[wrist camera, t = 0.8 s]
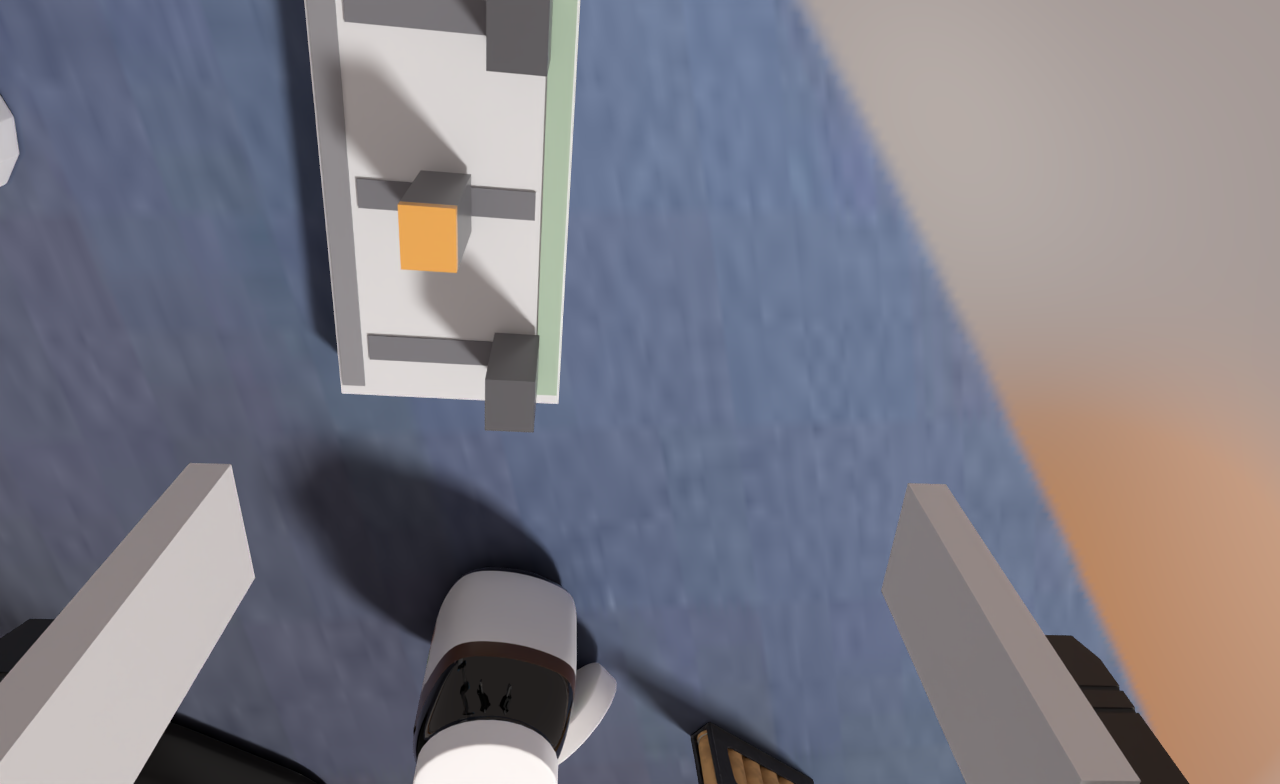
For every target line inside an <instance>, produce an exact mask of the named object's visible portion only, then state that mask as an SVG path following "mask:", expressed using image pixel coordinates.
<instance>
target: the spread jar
mask: <svg viewBox="0 0 1280 784" xmlns="http://www.w3.org/2000/svg"><path fill="white" fill-rule="evenodd" d="M576 665H577V619H576V608H575V604H574V600H573V598H572V596H571V595H570V594H569V593H568V592H567V590H566V589H564V588H563V587H562V586H560V585H559V584H557V583H555V582H553V581H551V580H549V579H547V578H545V577H543V576H540V575H538V574H535V573H532V572H529V571H525V570H520V569H514V568H505V567H488V568H481V569H476V570H472V571H470V572H468V573H465V574H464V575H463V576H461V577H460V578H459V579H458V580H457V581H456V582H455V583H454V584H453V586H452V587H451V588H450V590H449V591H448V593H447V595H446V597H445V599H444V601H443V603H442V606H441V608H440V611H439V614H438V617H437V621H436V625H435V629H434V633H433V637H432V642H431V646H430V651H429V657H428V662H427V667H426V672H425V677H424V681H423V686H422V691H421V695H420V700H419V705H418V710H417V715H416V720H415V725H414V738H413V753H414V758H415V762H416V764H417V765H416V770H415V775H414V780H413V784H558V764H560V763H561V762H563V761H564V760H565V759H567V758H568V757H569V756H570V755H571V754H572V753H574V752H575V751H576V750H577V749H578V748H579V747H580V746H581V745H582V744H583V742H584V741H585V740H586V739H587V738H588V737H589V736H590V734H591V733H592V732H593V731H594V729H595V728H596V727H597V725H598V724H599V723H600V721H601V720H602V718H603V717H604V715H605V714H606V712H607V710H608V708H609V707H610V705H611V702H612V700H613V698H614V695H615V692H616V680H615V679H614V678H613V677H612V676H611V675H610V674H609V673H608V672H607V671H606V670H605V669H604V668H603V667H602V666H601V665H600V664H599V663H590V664H588V665H585V666H583V667H582V668H580V669H579V670H577V671H576Z"/></svg>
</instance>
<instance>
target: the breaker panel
mask: <svg viewBox="0 0 1280 784" xmlns="http://www.w3.org/2000/svg"><path fill="white" fill-rule="evenodd" d="M304 3H305V13H306V24H307V34H308V45H309V55H310V66H311V76H312V86H313V97H314V107H315V118H316V128H317V139H318V149H319V160H320V170H321V181H322V191H323V202H324V212H325V223H326V233H327V244H328V254H329V265H330V275H331V286H332V296H333V307H334V317H335V327H336V338H337V348H338V359H339V369H340V380H341V390H342V393H345V394H366V395H387V396H407V397H428V398H448V399H469V400H485V377H486V372H487V367H488V363H489V358H490V353H491V348H492V343H493V338H494V334H495V333H510V334H528V335H540V339H539V364H538V385H537V397H536V403H551V404H558V398H559V380H560V362H561V344H562V325H563V307H564V289H565V270H566V252H567V234H568V216H569V197H570V179H571V161H572V142H573V124H574V106H575V88H576V69H577V51H578V33H579V14H580V0H553V13H552V38H551V60H550V65H549V70H548V74H547V77H546V76H535V75H524V74H513V73H502V72H491V71H486V0H304ZM421 170H423V171H436V172H449V173H462V174H471V227H472V232H471V235H470V237H469V240H468V243H467V246H466V248H465V251H464V254H463V257H462V260H461V262H460V265H459V268H458V271H457V273H449V272H433V271H418V270H403V269H401V263H400V243H399V223H398V203H399V202H400V200H401V199H402V197H403V196H404V194H405V193H406V191H407V190H408V188H409V187H410V185H411V184H412V182H413V181H414V179H415V178H416V176H417V175H418V173H419V172H420V171H421Z"/></svg>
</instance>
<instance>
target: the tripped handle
mask: <svg viewBox="0 0 1280 784" xmlns="http://www.w3.org/2000/svg"><path fill="white" fill-rule="evenodd" d="M398 223H399V243H400V263H401V269H403V270H418V271H433V272H449V273H457V271H458V268H459V265H460V262H461V260H462V257H463V254H464V251H465V248H466V246H467V243H468V240H469V237H470V235H471V232H472V227H471V174H462V173H449V172H436V171H423V170H421V171H420V172H419V173H418V175H417V176H416V178H415V179H414V181H413V182H412V184H411V185H410V187H409V188H408V190H407V191H406V193H405V194H404V196H403V197H402V199H401V200H400V202H399V203H398Z"/></svg>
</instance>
